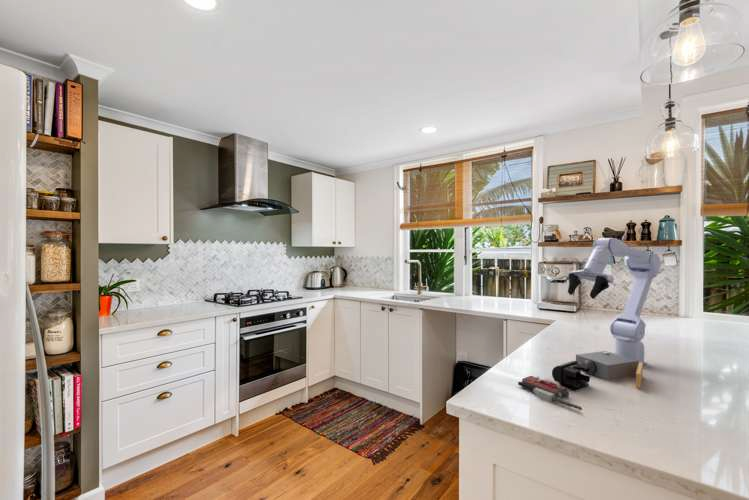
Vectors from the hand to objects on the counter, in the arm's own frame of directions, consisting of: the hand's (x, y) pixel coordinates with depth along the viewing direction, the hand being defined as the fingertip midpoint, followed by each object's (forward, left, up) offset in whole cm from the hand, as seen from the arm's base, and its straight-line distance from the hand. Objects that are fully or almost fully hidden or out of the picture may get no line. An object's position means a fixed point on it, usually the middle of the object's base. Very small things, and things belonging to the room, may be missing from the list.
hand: (580, 295), depth 121 cm
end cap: (+12, +7, -28) cm, 31 cm away
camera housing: (-11, +2, -27) cm, 30 cm away
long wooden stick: (-12, +12, -27) cm, 32 cm away
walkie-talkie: (+25, +11, -28) cm, 39 cm away
